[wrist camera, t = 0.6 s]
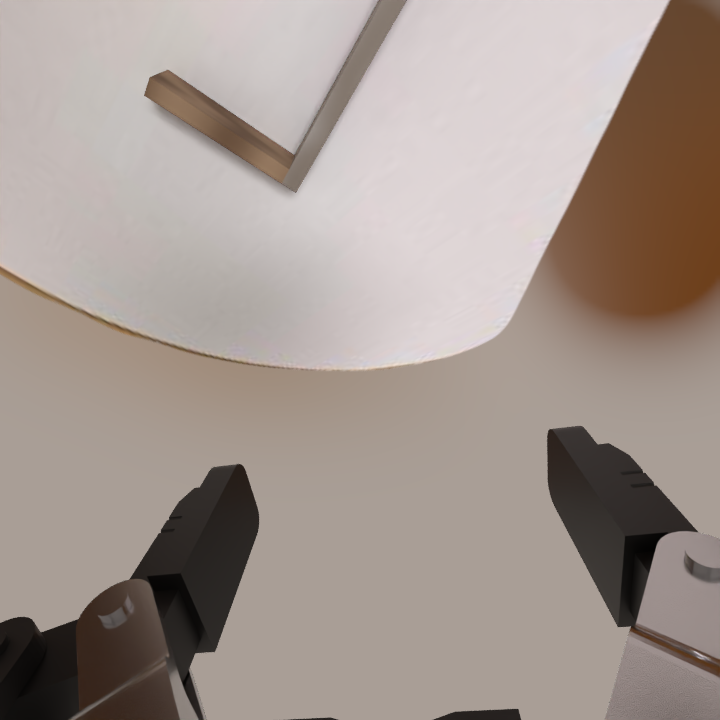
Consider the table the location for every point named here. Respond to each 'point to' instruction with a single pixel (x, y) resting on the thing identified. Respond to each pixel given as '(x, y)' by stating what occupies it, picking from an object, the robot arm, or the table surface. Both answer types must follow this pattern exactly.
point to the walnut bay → (252, 142)
